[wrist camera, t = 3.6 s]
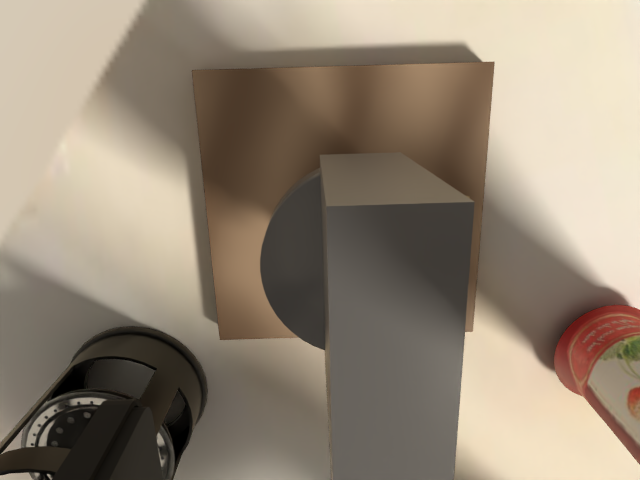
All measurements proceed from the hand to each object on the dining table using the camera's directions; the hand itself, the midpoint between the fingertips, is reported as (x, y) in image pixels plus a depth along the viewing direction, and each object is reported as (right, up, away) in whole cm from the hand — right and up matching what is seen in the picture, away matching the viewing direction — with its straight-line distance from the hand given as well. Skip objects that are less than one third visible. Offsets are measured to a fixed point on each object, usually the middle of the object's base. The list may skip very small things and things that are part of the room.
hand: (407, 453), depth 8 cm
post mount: (0, +6, +20) cm, 21 cm away
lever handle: (0, +3, +12) cm, 12 cm away
